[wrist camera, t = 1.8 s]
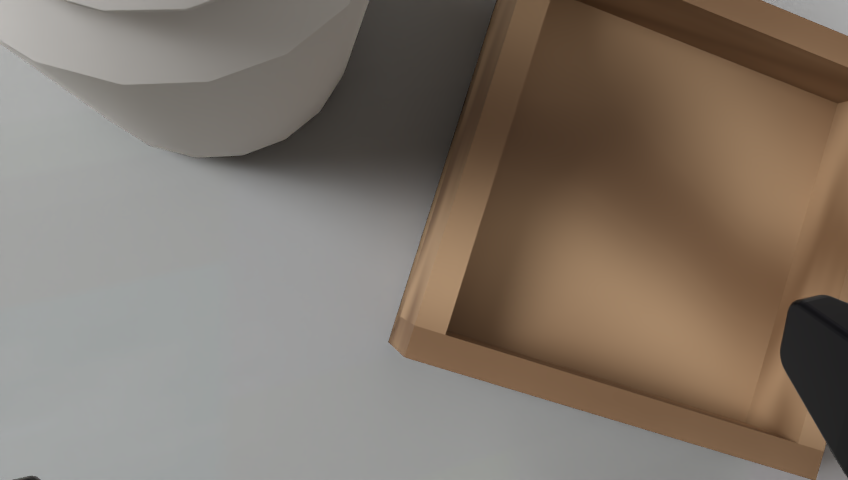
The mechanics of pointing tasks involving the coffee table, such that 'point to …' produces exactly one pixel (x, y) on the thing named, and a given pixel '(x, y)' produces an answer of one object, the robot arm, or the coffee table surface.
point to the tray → (641, 216)
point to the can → (191, 64)
